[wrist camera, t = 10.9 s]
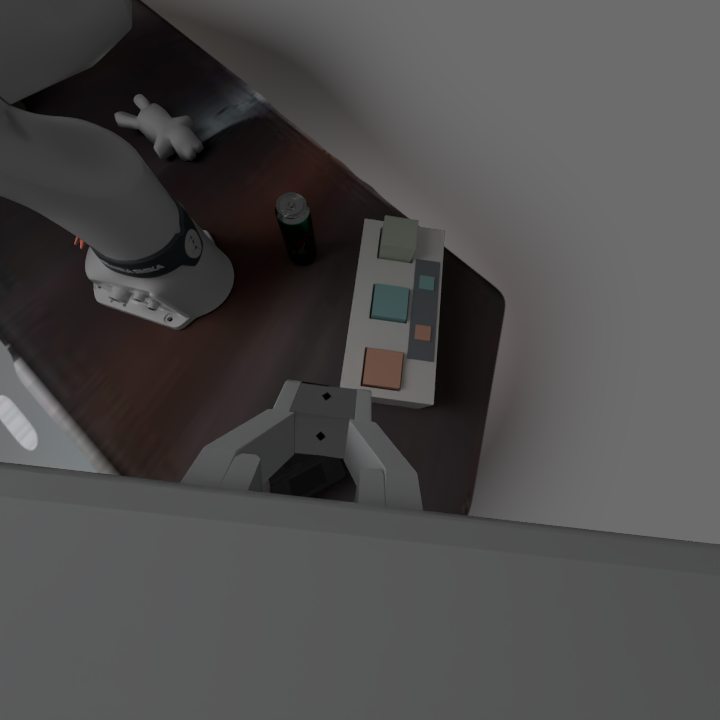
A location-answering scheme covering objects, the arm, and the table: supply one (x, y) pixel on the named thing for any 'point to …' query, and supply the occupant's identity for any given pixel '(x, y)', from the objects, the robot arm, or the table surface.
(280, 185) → the table surface
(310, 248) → the soda can
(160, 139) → the bunny figurine
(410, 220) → the sage green key
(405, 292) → the teal key
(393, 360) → the terracotta key
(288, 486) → the handheld gaming console
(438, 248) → the keypad
